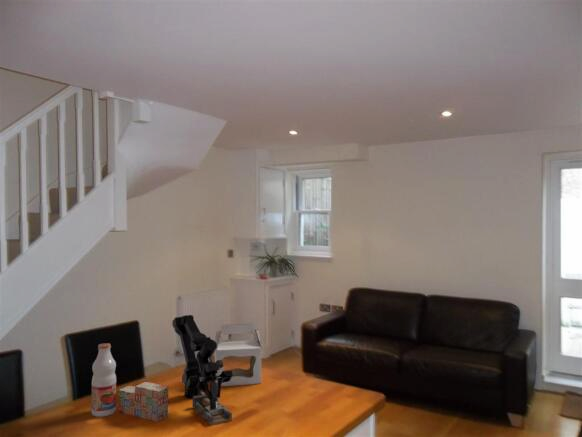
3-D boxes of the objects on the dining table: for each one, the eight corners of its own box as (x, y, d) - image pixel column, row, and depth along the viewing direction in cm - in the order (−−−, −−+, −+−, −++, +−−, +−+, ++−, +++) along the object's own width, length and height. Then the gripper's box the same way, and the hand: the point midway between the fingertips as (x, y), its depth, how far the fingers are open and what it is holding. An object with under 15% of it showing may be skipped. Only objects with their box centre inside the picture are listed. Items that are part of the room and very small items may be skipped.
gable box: (257, 375, 242) (258, 320, 242) (261, 383, 229) (262, 326, 229) (214, 377, 237) (214, 322, 237) (215, 386, 224) (216, 328, 224)
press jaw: (204, 411, 191) (204, 379, 191) (218, 408, 194) (218, 377, 194) (209, 416, 186) (209, 383, 187) (223, 413, 190) (223, 380, 190)
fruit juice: (102, 406, 199) (102, 340, 199) (120, 409, 196) (121, 342, 196) (86, 415, 190) (86, 346, 190) (105, 418, 187) (106, 348, 187)
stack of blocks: (117, 412, 193) (118, 382, 194) (129, 407, 199) (129, 378, 199) (157, 422, 184) (158, 390, 184) (168, 416, 190) (168, 386, 190)
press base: (192, 407, 199) (192, 396, 199) (212, 403, 204) (212, 392, 204) (210, 425, 181) (210, 413, 181) (231, 420, 186) (231, 409, 186)
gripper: (188, 356, 189) (198, 392, 179) (231, 350, 199) (242, 384, 189) (182, 371, 196) (191, 406, 186) (223, 364, 205) (234, 397, 196)
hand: (215, 398), depth 189 cm, fingers closed on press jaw, 3 cm apart
